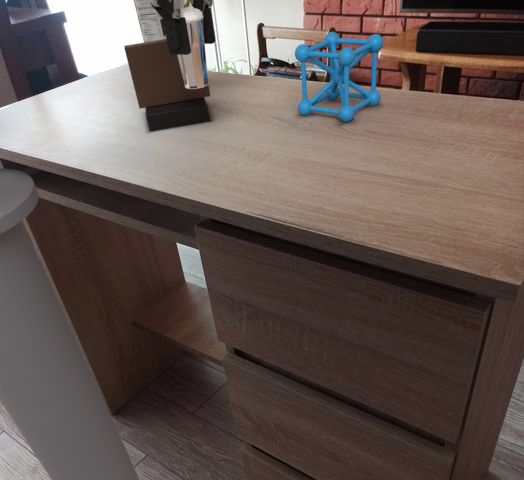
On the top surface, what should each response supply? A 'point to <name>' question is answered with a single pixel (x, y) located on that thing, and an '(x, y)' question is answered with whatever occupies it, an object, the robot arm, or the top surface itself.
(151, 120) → the frame stand
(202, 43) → the milkshake
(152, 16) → the candy bar box
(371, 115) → the top surface
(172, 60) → the frame
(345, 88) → the molecular structure
